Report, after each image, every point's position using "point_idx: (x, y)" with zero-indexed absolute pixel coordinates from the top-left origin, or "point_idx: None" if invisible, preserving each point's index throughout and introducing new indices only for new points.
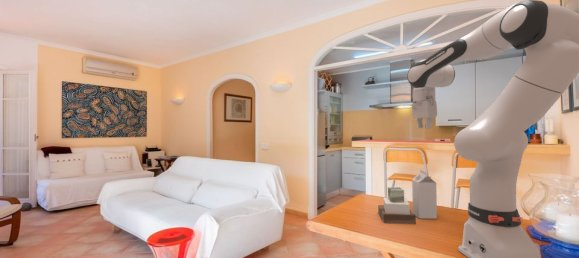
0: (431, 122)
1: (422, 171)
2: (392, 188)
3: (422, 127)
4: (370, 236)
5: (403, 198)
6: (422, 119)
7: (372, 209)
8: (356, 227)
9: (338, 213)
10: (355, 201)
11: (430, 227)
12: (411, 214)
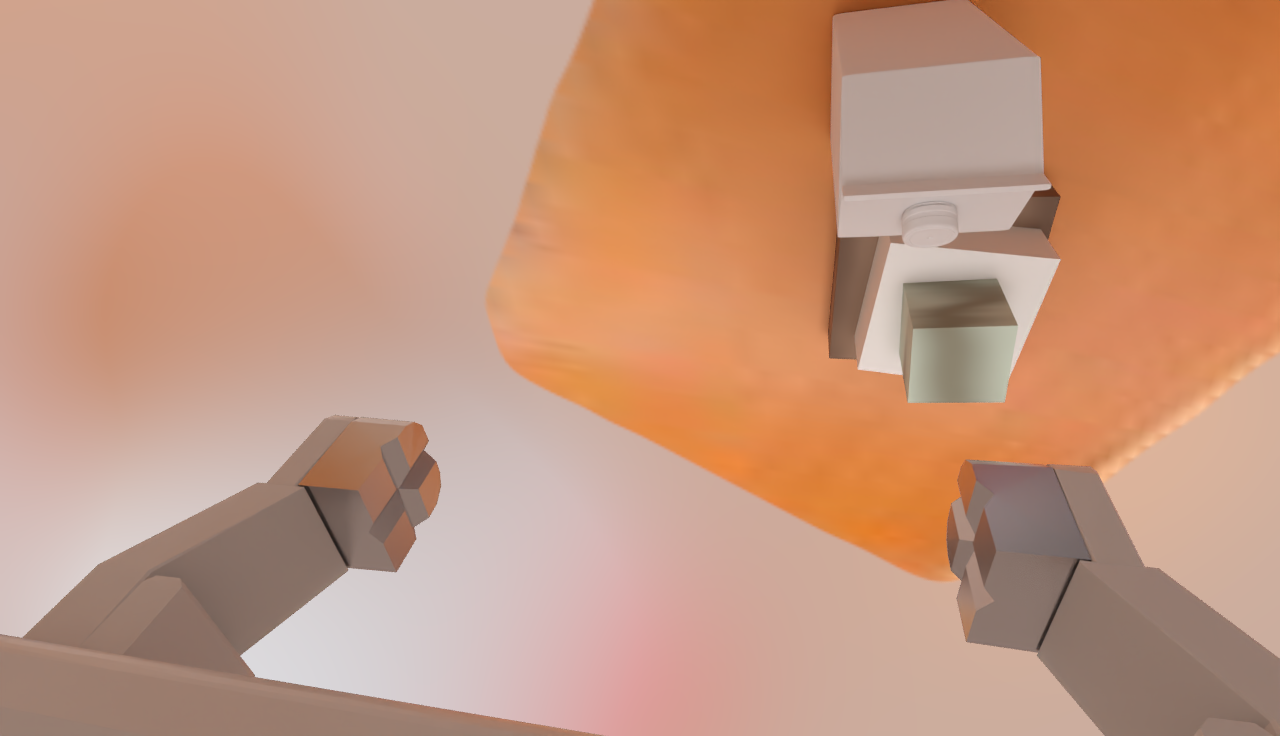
0: (1249, 641)
1: (912, 195)
2: (948, 383)
3: (417, 435)
4: (1174, 426)
5: (1003, 297)
6: (163, 616)
7: (768, 350)
8: (1045, 458)
9: (840, 496)
10: (628, 405)
11: (1121, 100)
12: (1036, 217)
